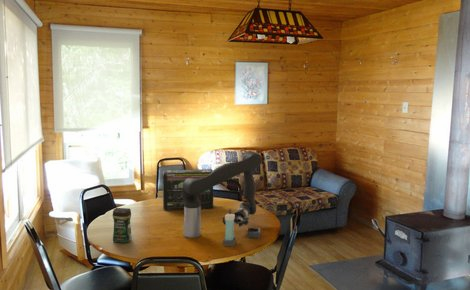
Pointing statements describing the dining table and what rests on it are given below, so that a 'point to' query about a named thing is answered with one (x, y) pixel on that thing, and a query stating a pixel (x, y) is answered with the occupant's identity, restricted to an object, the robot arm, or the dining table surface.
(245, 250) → the dining table surface
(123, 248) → the dining table surface
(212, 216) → the dining table surface
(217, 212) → the dining table surface
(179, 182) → the router box
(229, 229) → the plug
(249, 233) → the tray
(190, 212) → the robot arm
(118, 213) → the coffee jar
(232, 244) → the holster
